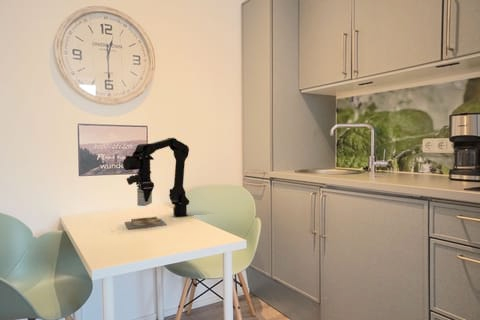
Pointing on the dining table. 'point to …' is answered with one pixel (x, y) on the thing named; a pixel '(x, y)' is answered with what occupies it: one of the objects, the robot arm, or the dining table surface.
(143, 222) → the slot frame
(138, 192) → the medicine box
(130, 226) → the mat
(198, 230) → the dining table surface
